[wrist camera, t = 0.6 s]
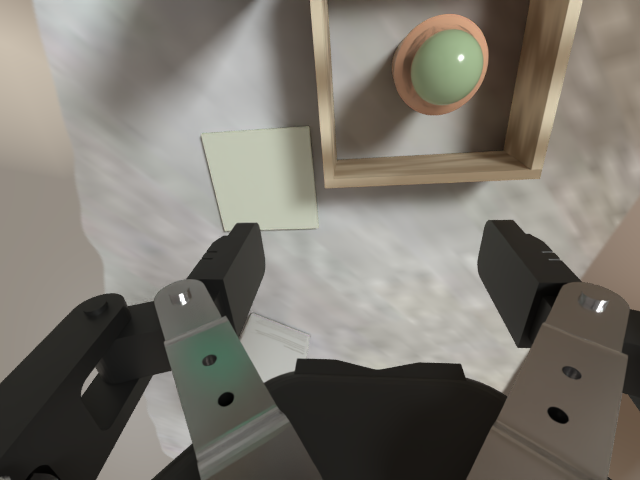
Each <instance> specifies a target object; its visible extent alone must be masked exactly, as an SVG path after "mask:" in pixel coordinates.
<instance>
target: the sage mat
mask: <svg viewBox="0 0 640 480" xmlns="http://www.w3.org/2000/svg"><path fill="white" fill-rule="evenodd" d="M201 137H202V141H203V145H204V149H205V153H206V157H207V161H208V165H209V169H210V173H211V177H212V182H213V186H214V190H215V194H216V198H217V202H218V206H219V210H220V214H221V218H222V222H223V226H224V230H225V231H231V230H232V229H233V227H234V226H235V224H236V223H258V224H259V227H260V230H278V229H311V228H319V222H318V211H317V201H316V190H315V180H314V169H313V158H312V148H311V137H310V126H301V127H286V128H272V129H257V130H243V131H228V132H213V133H202V134H201Z"/></svg>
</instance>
